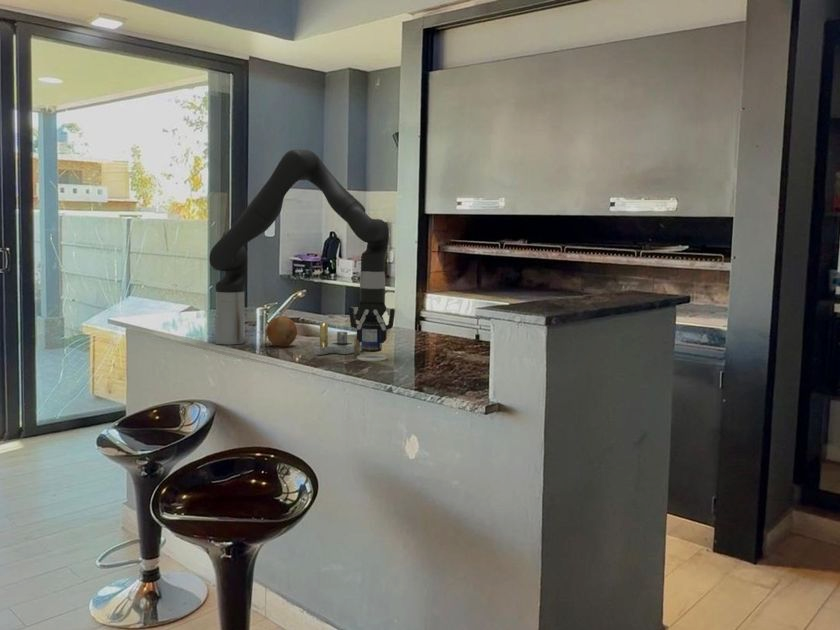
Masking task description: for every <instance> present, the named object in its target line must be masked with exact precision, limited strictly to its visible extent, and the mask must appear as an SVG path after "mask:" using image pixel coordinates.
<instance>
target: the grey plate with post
mask: <svg viewBox="0 0 840 630" xmlns="http://www.w3.org/2000/svg"><path fill="white" fill-rule="evenodd" d="M328 334H329V324H328V322H320V323H319V343H315V344H314V347H313V355H318V356H319V355H320V356H321V355H327V354H332V353H333V354H338V355H339V354H340V355H347V354H348V355H349V354H354V340H353V341H351V340H347V345H337V339H336V340H332V341H329V339H328V338H329V337H328V336H329V335H328ZM360 352H363V351H362V342H360Z"/></svg>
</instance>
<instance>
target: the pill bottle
mask: <svg viewBox="0 0 840 630" xmlns="http://www.w3.org/2000/svg"><path fill="white" fill-rule="evenodd" d="M364 317H365V322H364V323H363V324H362V342H361V343H362V351H361V352H364V353H365V352H366V353H377V352H382V349H383V347H382V346H383V343H381V331H382V328H381V326H380V324H379V322H378V320H377V316H376V315H365V316H364Z"/></svg>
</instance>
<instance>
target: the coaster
mask: <svg viewBox="0 0 840 630" xmlns="http://www.w3.org/2000/svg"><path fill="white" fill-rule="evenodd" d="M387 358H388V356H387V355H383V354H376V353H375V354H374V353H371V354H370V353H369V354H368V353H367V354H360V355H359V356H356V360H358V361H362V362H363V361H364V362H381V361H382V362H383V361H387Z"/></svg>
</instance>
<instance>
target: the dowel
mask: <svg viewBox="0 0 840 630" xmlns="http://www.w3.org/2000/svg"><path fill="white" fill-rule="evenodd" d="M353 337H354V338H353V342H354V353H353V356H354V357H357V356H359V355H361V351H360V342H359V340H357V335H354V336H353Z"/></svg>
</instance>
